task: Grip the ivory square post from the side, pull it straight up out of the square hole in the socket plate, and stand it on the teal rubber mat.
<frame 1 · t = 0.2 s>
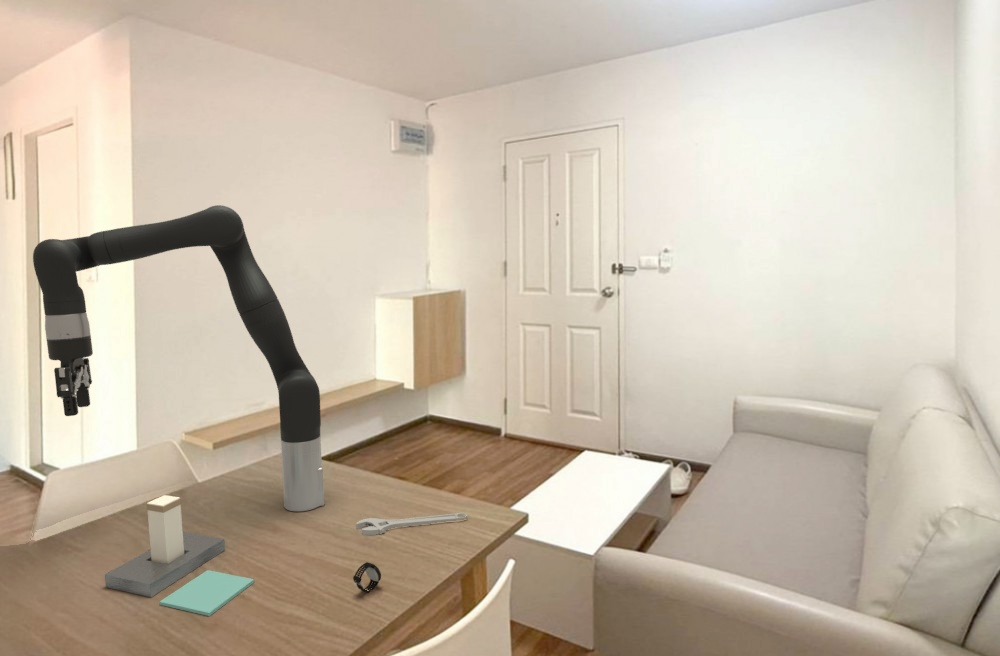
hand: (78, 410, 125), 29 cm above the table, tool pointing down, fingers open, 8 cm apart
mat: (208, 593, 107), on the table
smartwatch: (366, 590, 108), on the table
post: (166, 534, 116), in the socket plate
socket plate: (168, 567, 116), on the table
adjustable wrench: (412, 528, 134), on the table
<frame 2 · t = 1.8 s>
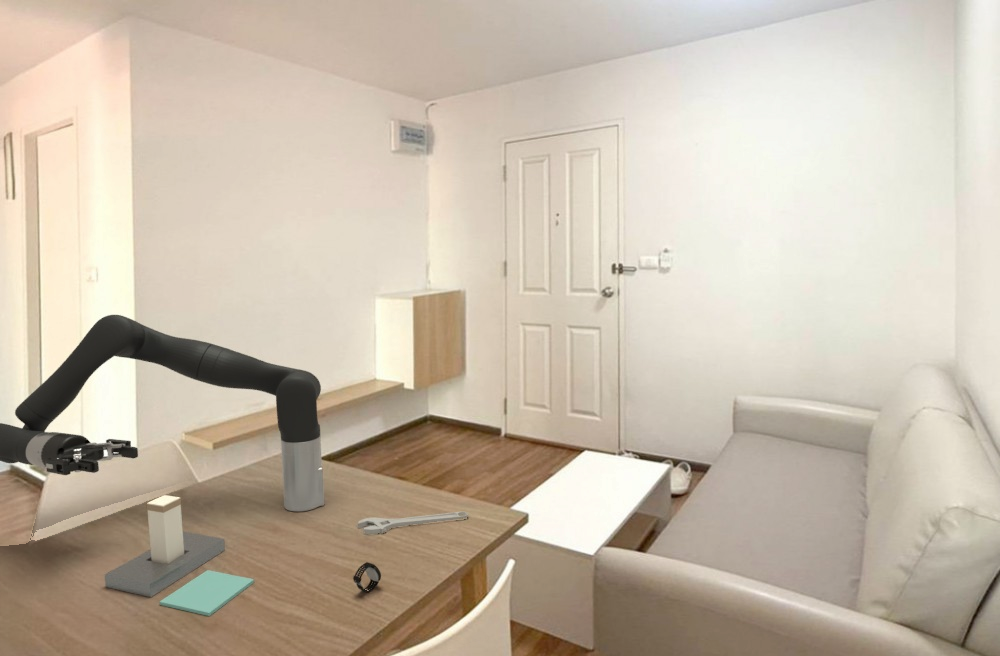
hand: (117, 459, 117), 21 cm above the table, tool horizontal, fingers open, 8 cm apart
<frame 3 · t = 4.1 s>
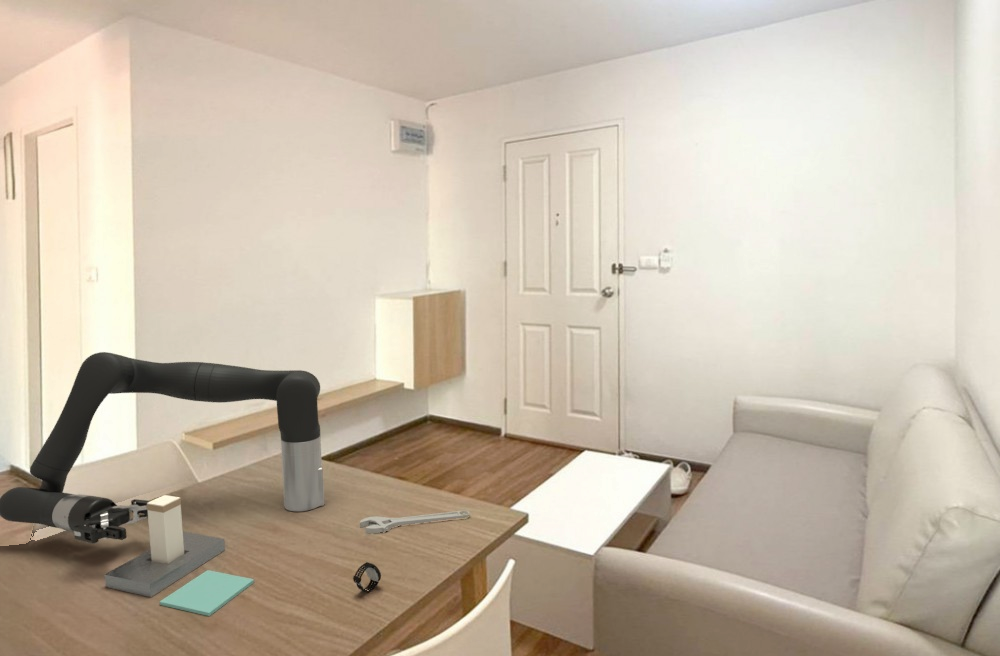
hand: (144, 524, 117), 8 cm above the table, tool horizontal, fingers open, 8 cm apart
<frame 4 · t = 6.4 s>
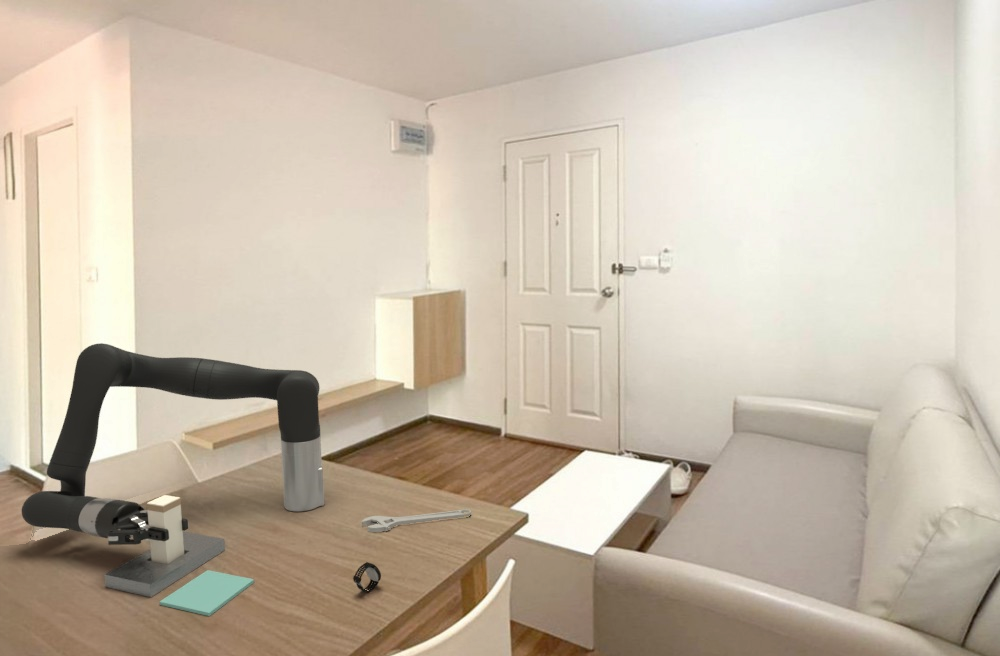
hand: (176, 530, 115), 8 cm above the table, tool horizontal, fingers closed on post, 4 cm apart
post: (166, 534, 116), in the socket plate, touching gripper
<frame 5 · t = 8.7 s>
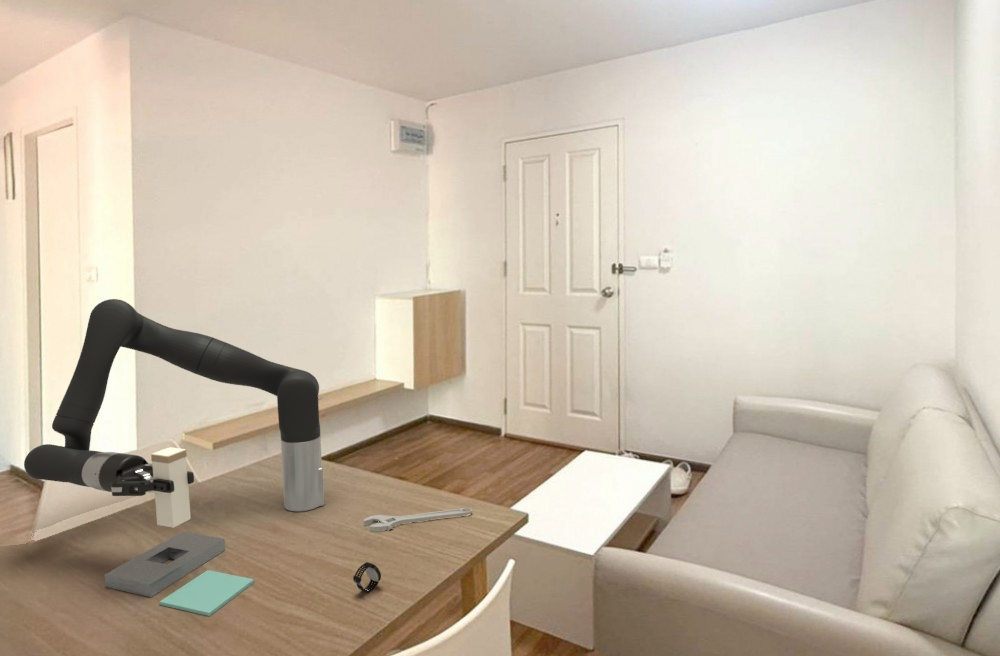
hand: (182, 482, 111), 19 cm above the table, tool horizontal, fingers closed on post, 4 cm apart
post: (171, 486, 112), point 18 cm above the table, touching gripper
when the fingers open (10 cm above the table, at t = 11.4 s): post drops 1 cm, resting on mat.
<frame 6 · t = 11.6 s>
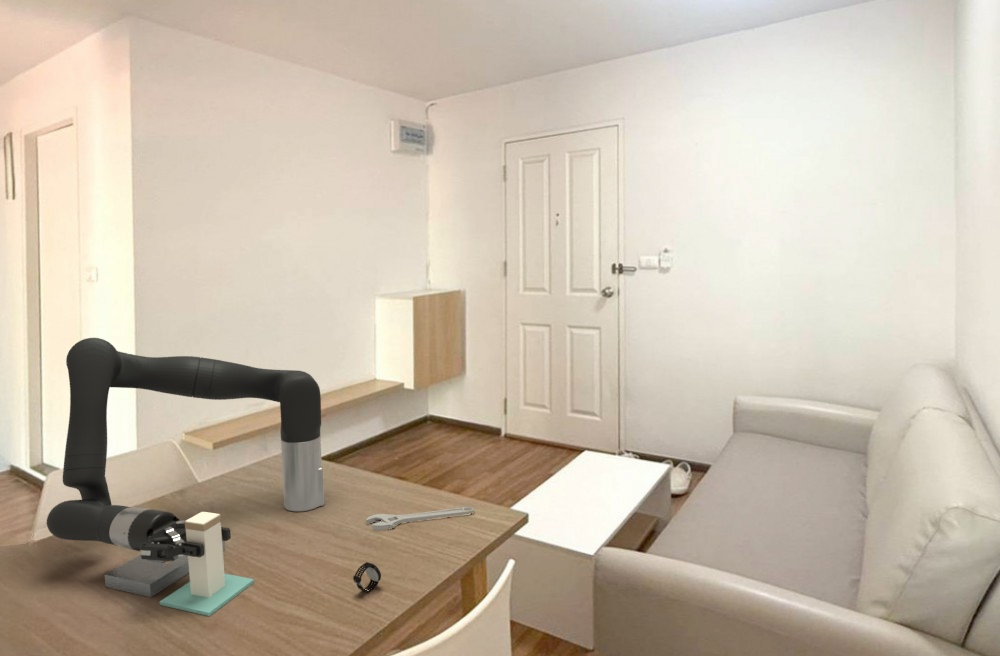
hand: (216, 542, 105), 10 cm above the table, tool horizontal, fingers open, 5 cm apart
post: (205, 554, 107), on the mat, point 8 cm above the table
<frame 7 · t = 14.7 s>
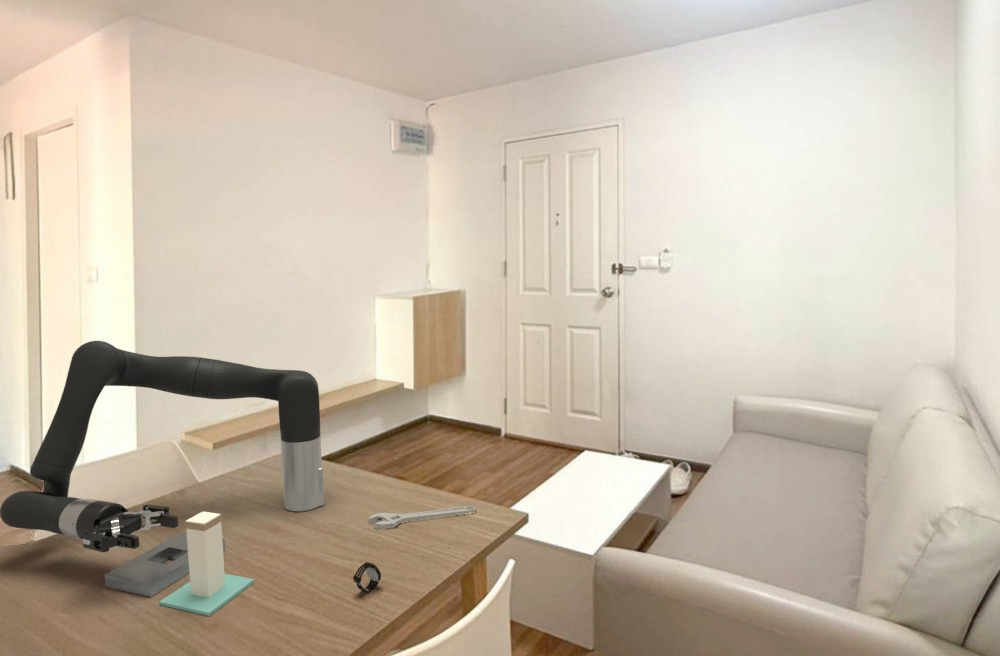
hand: (157, 532, 110), 10 cm above the table, tool horizontal, fingers open, 8 cm apart
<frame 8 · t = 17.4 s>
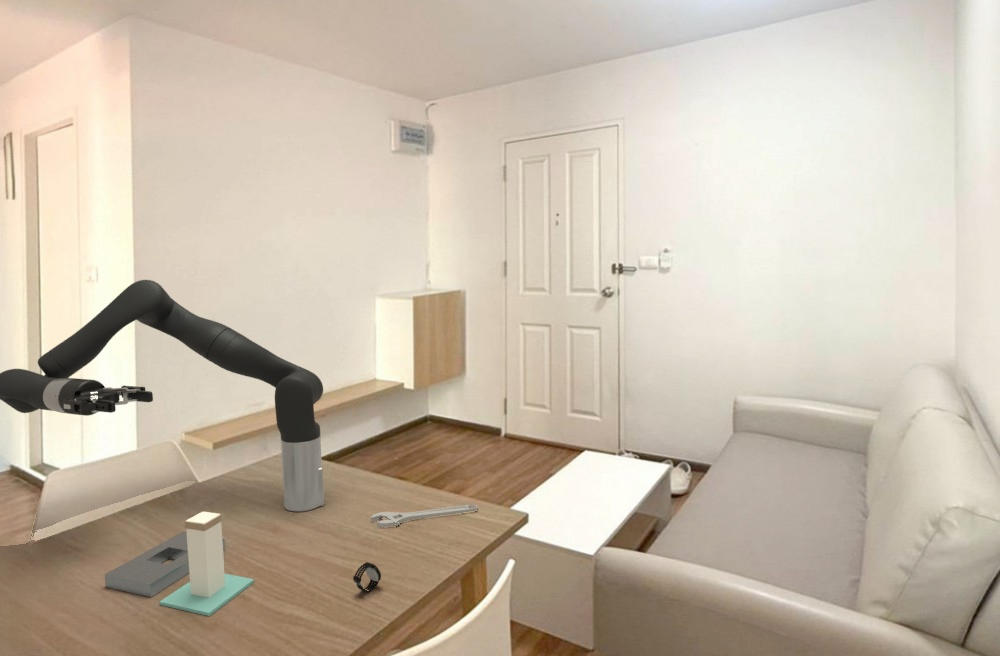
hand: (133, 401, 119), 32 cm above the table, tool horizontal, fingers open, 8 cm apart
at the end: post inside the target area on the mat (0.1 cm from its centre), point 7.6 cm above the mat's base; post tilted 0°; the gripper is holding nothing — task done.
